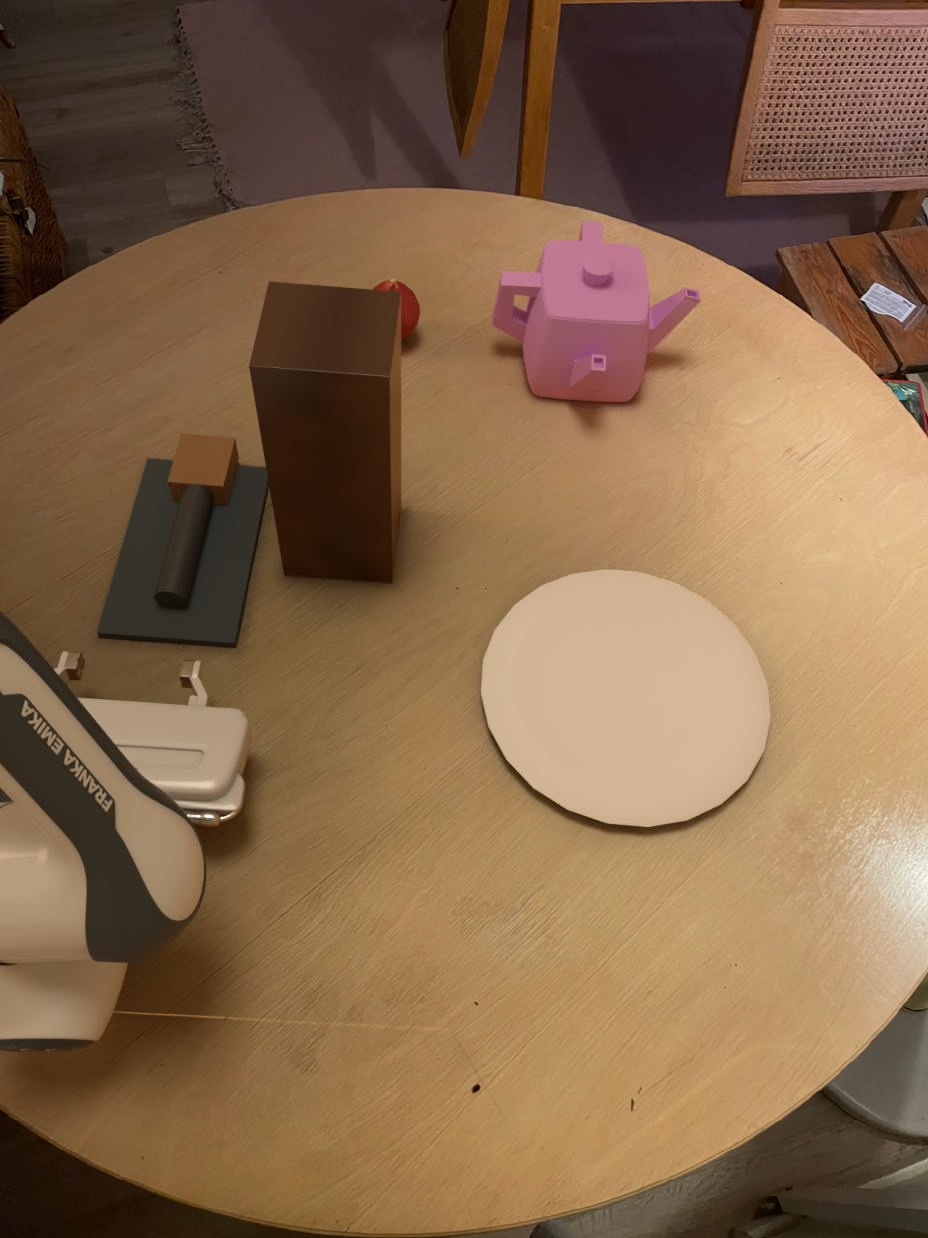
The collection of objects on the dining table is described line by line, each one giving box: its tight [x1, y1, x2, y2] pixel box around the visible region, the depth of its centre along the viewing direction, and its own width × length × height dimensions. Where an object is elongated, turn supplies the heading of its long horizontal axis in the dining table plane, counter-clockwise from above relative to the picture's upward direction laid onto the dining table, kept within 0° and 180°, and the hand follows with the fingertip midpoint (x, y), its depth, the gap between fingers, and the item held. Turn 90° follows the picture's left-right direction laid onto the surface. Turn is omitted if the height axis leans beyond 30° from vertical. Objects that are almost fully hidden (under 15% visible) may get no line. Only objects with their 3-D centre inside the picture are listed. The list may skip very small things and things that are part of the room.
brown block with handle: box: [154, 433, 240, 609], centre depth 95 cm, size 18×5×3 cm, turn 176°
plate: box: [480, 568, 772, 829], centre depth 89 cm, size 25×25×2 cm
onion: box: [372, 278, 421, 340], centre depth 109 cm, size 6×6×8 cm
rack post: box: [248, 280, 402, 584], centre depth 87 cm, size 10×9×26 cm
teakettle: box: [491, 220, 702, 403], centre depth 107 cm, size 17×17×12 cm
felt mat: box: [96, 457, 269, 648], centre depth 96 cm, size 12×20×1 cm, turn 177°
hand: (134, 659), depth 83 cm, fingers open, 8 cm apart
